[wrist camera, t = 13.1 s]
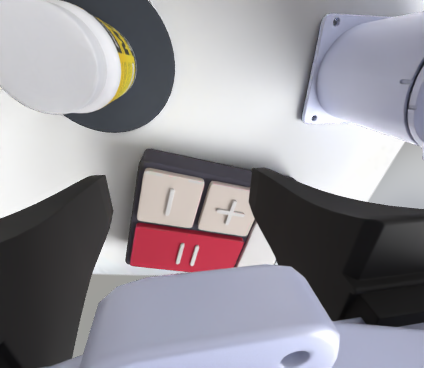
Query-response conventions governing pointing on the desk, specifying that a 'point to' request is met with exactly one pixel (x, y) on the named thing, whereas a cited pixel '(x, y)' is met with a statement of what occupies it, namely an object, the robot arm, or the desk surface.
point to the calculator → (193, 216)
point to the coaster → (145, 61)
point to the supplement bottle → (61, 57)
